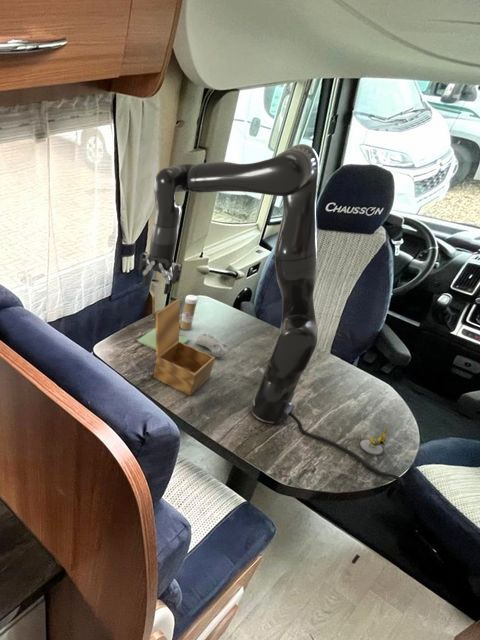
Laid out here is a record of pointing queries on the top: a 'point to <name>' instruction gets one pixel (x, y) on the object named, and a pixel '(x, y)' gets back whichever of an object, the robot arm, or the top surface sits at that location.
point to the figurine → (374, 444)
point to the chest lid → (167, 326)
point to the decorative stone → (212, 344)
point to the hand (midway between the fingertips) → (156, 289)
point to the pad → (151, 339)
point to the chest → (183, 367)
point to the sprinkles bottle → (188, 312)
